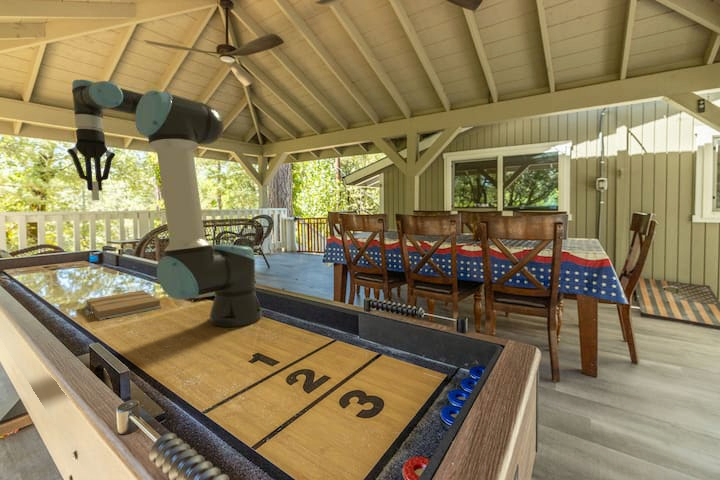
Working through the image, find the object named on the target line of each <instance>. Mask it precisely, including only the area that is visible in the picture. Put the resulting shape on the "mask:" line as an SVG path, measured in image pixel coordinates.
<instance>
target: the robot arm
mask: <svg viewBox="0 0 720 480" xmlns="http://www.w3.org/2000/svg"><path fill="white" fill-rule="evenodd" d="M71 84H72V87H71V88H72V89H71V92H72V100H73V110H74V111H73V112H74V121H75V123H74V124H75V127H76V128H77V129H75V135H76V143H75V146H74V147H71V148H68V149H67V150H66V152H67V153H68V154H69V155H70V156H71V159H72V161H73V163H74V164H73V165H74V166H75V169H76V172H77V174H78V177H79V179H80V180H85V181H86V185H87V186H86V187H87V191H91V200H92V201H100V192H101V191H103V181H106V180H108V179H109V174H110V170H111V165H112V161H113V158H114V157H115V156H116V153H115V152H111V151H110V150H109V149H108V147H107V146H106V138H105V133H104V130H105V128H104V125H105V124H104V114H103V111H104V110H109V111H110V110H111V111H114V112H118V113H125V114H129V115H134V116H135V117H134V119H135V128H136V130H137V131H138V133H139V134H140V135H142V136H143V137H146V138H148V144H149V148H151V149H152V150H153V151H154V152H155V153H156V154H157V161H158V168H159V169H158V170H159V176H160V182H161V183H160V184H161V190H162V197H163V203H164V210H165V211H164V212H165V217H166V219H165V220H166V225H167V232H168V233H167V234H168V241H169V243H168V245H167V246H166V247H165V249H164V250H163V251H164V256H163V257H162V258H161V259H159V260H158V262H157V267H156V277H157V280H158V283H159V285H160V286H161V288H162V290H163V291H164V292H165V293H166V295H167V296H169V297H170V298H172V299H174V300H185V299H188V298H194V297H196V296H199V295H203V294H207V293H211V292H215V296H214V299H213V303H212V306H211V309H210V312H209V323H210V324H211V325H212V326H215V327H219V328H236V327H243V326H247V325H251V324H254V323H256V322H258V321H260V320H261V319H262V317H263V316H262V315H263V314H262V311H263V310H262V307H261V305H260V301H259V299H258V297H257V294H256V274H255V272H256V271H255V269H256V268H255V265H256V264H255V261H256V259H255V253H254V249H253V248H252V247H250V246H247V245H234V244H233V245H231V244H214V245H213V244H212V243H211V242H210V241H208V240H207V239H206V235H205V227H204V221H203V215H202V208H201V207H202V205H201V198H200V191H199V184H198V178H197V171H196V164H195V162H196V161H195V155H194V154H195V153H194V152H195V151H197V149H198V148H199V145H210V144H213V143H215V142H217V141H219V140H220V138H221V137H222V135H223V133H224V129H225V123H224V120H223V117H222V115H221V114H220V113H219V111H218V110H217V109H215V108H214V107H212V106H211V105H208V104H206V103H205V102H200V101H198V100H197V101H196V100H194V99H189V98H186V97H182V96H178V95H176V94H172V93H171V92H168V91H167V92H163V91H160V90H157V89H156V90H155V89H153V90H149V91H146V92H145V93H141V92H136V91H133V90H128V89H125V88H121V87H119V86H118V85H117V84H115V83H114V82H112V81H109V80H102V81H101V80H100V81H96V82H94V81H92V80H88V79H74V80H73V81H72V83H71ZM78 152H79V153H80V155H81V156H82V157H84V165H85V172H84V170H83V166H82V163H81V161H80V159H79V156H78ZM104 155H105V157H106V158H105V159H106V160H105V162H104V166H103V167H104V168H103V171H102V167H101V166H102V165H101V158H102V157H104ZM92 159H93V162H94V172H95V175H94V176H95V180H93V170H92Z"/></svg>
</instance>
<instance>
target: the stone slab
mask: <svg viewBox="0 0 720 480" xmlns="http://www.w3.org/2000/svg"><path fill="white" fill-rule="evenodd" d="M209 297H215V292H211V293H207V294H203V295H199V296H196V297H194V298H189V299H188V300H190V301H191V300H193V301H192V302H195V301H197V300H199V299H203V298H209Z"/></svg>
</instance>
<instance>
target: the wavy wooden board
mask: <svg viewBox="0 0 720 480" xmlns="http://www.w3.org/2000/svg"><path fill="white" fill-rule="evenodd" d="M152 296H153V295H151V294H150V293H149V292H147V291H145V290H144V289H143V290H137V291H131V292H125V293H118V294H112V295H111V294H110V295H107V296H100V297H99V296H98V297H93V298H89V299H86V300H85V302H86V305H87V306H88V307H89V308H90V309H91V310H92V311H93V312H94V307H96V306H102V305H107V304H113V303H118V302H124V301H130V300H135V299H141V298H146V297H152Z"/></svg>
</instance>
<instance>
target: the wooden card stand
mask: <svg viewBox="0 0 720 480" xmlns="http://www.w3.org/2000/svg"><path fill="white" fill-rule="evenodd" d="M86 306H87V304H85V307H86ZM87 307H88V306H87ZM87 307H86V308H87ZM88 308H89V307H88ZM88 308H87V309H88ZM157 308H159V309H162V306H161V300H160V299H158V298H157V297H155V296H153V295H152V297H146V298H141V299H135V300H130V301H124V302H118V303H113V304H107V305H102V306H96V307H94V312H93V311H92V310H91V309H90V308H89V309H90V310H91V311H92V312H93V313H94V314H95V315H96V316H95V315H94V314H93V313H92V312H91V311H90V310H89V309H88V310H89V311H90V312H91V313H92V314H93V315H94V316H95V317H96V318H97V319H98V320H99V321H100V320H101V321H103V320H102V319H106V318H111V319H113V318H112V317H115V318H119V317H118V316H120V317H125V316H128V315H129V314H130V315H133V314H140V313H144V311H145V312H149V311H148V310H150V311H154V310H158V309H157ZM153 309H154V310H153ZM124 315H125V316H124ZM106 320H107V319H106Z"/></svg>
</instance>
